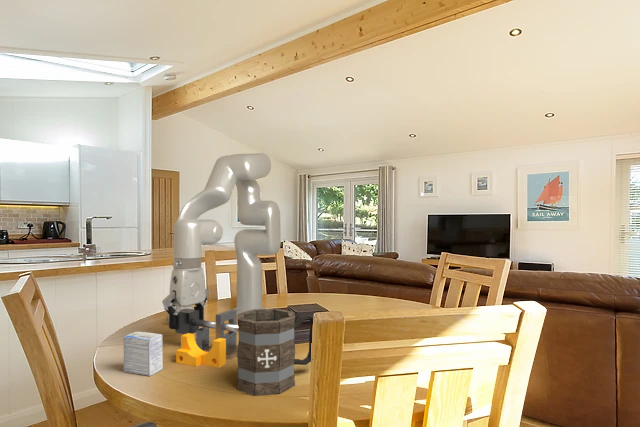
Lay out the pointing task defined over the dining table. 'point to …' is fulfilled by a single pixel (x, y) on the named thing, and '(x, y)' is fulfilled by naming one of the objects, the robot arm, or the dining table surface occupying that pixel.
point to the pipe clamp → (201, 352)
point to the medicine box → (143, 353)
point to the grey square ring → (220, 333)
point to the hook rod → (198, 322)
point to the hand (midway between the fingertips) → (186, 324)
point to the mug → (268, 350)
